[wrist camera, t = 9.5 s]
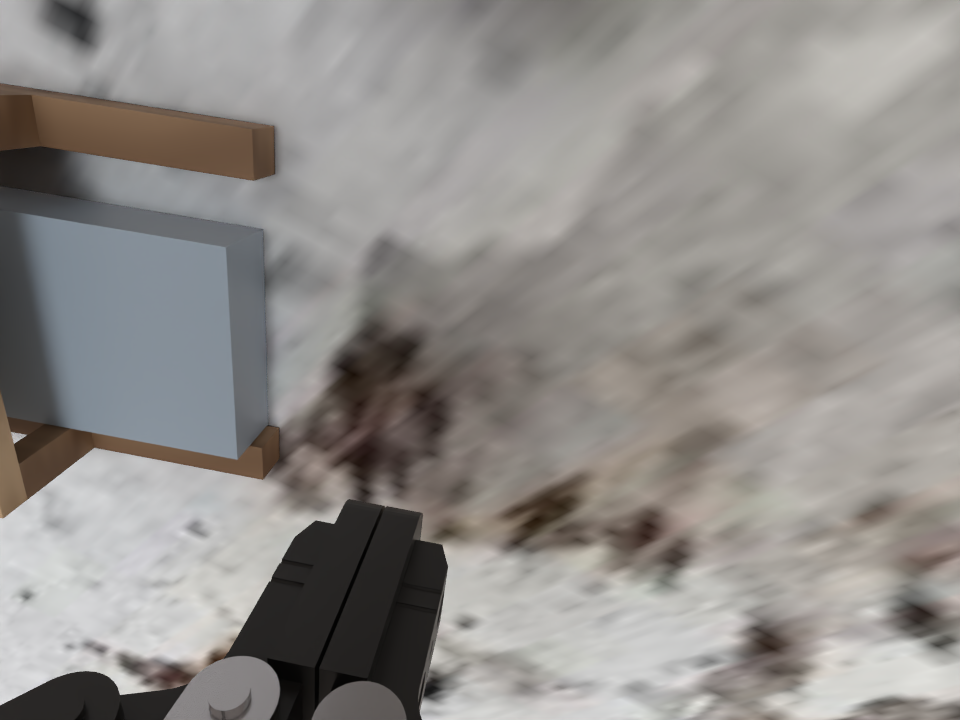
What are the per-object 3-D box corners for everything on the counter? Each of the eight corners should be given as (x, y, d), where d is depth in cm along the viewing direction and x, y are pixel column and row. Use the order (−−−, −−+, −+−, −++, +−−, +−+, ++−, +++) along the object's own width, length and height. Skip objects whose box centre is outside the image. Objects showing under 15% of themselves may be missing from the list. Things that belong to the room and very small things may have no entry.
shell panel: (-99, 166, 22) (-192, 177, 19) (268, 226, 21) (226, 247, 18) (-45, 360, 25) (-117, 393, 23) (273, 418, 24) (237, 459, 22)
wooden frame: (-185, 54, 20) (-450, 43, 15) (273, 126, 19) (165, 141, 14) (-79, 390, 26) (-244, 469, 20) (279, 458, 25) (203, 558, 19)
